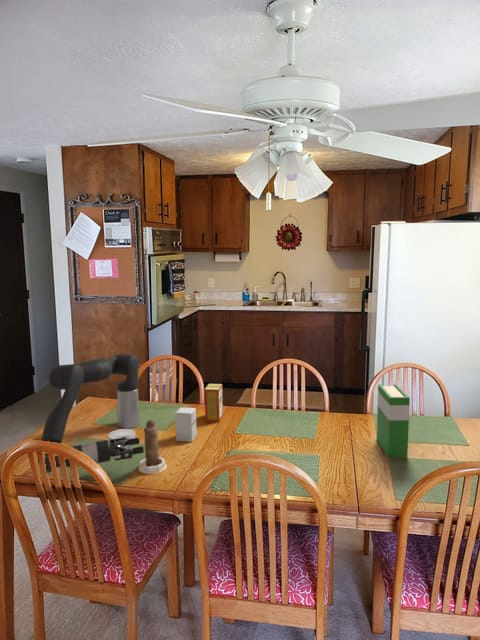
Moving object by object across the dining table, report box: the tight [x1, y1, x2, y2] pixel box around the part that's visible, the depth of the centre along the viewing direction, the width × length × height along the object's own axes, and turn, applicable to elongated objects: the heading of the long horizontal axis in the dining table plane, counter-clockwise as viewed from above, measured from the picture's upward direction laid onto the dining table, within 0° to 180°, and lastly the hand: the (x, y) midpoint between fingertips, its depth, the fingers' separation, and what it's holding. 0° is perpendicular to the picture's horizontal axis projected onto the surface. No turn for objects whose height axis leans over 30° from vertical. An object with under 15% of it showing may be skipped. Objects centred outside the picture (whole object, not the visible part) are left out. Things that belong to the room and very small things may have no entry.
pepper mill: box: [143, 419, 160, 467], centre depth 184 cm, size 5×5×18 cm
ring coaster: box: [138, 456, 168, 475], centre depth 185 cm, size 10×10×3 cm
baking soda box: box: [204, 383, 224, 423], centre depth 237 cm, size 10×6×16 cm
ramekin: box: [107, 428, 137, 448], centre depth 208 cm, size 11×11×5 cm
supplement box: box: [174, 407, 198, 443], centre depth 214 cm, size 7×7×13 cm
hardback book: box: [376, 383, 411, 458], centre depth 199 cm, size 18×7×24 cm, turn 179°
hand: (141, 444), depth 183 cm, fingers open, 8 cm apart
